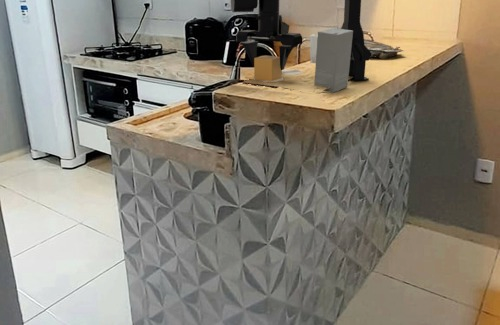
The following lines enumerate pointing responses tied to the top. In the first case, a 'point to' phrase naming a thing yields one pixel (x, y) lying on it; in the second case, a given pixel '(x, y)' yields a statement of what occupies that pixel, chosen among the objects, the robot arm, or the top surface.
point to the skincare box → (333, 59)
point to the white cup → (313, 47)
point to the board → (284, 72)
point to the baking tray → (380, 49)
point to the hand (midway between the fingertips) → (268, 68)
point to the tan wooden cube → (267, 68)
